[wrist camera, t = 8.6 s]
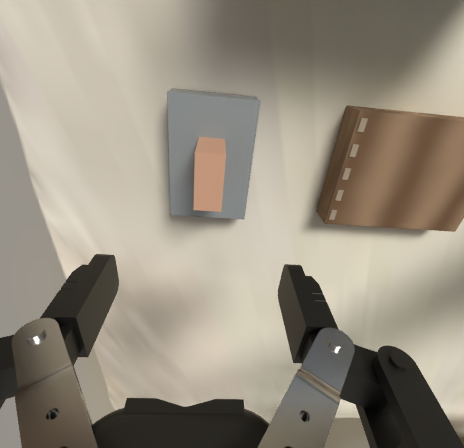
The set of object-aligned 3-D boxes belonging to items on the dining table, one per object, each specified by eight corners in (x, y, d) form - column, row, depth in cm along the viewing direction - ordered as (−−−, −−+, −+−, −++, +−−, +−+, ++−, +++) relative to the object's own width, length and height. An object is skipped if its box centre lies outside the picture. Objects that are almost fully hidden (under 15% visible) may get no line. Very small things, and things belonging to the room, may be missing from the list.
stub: (256, 96, 26) (269, 110, 19) (242, 206, 32) (248, 246, 26) (172, 88, 26) (155, 99, 19) (174, 202, 32) (162, 241, 25)
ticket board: (493, 120, 28) (521, 126, 26) (437, 218, 35) (455, 232, 32) (346, 105, 27) (360, 110, 24) (316, 210, 33) (324, 224, 31)
